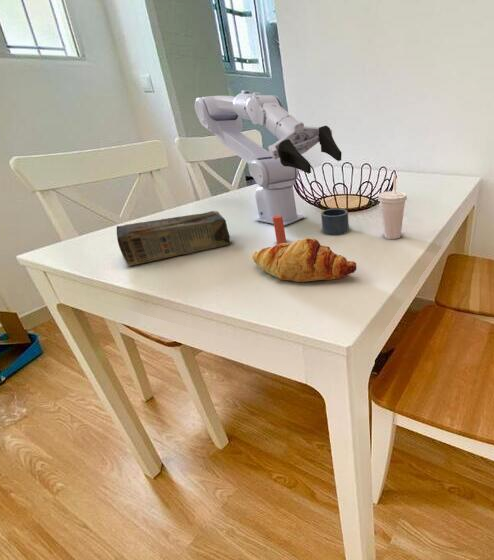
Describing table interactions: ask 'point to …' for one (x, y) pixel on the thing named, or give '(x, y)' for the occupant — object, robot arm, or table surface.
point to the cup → (335, 221)
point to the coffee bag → (171, 237)
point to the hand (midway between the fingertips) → (325, 162)
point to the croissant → (303, 261)
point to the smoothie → (392, 211)
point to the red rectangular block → (279, 229)
